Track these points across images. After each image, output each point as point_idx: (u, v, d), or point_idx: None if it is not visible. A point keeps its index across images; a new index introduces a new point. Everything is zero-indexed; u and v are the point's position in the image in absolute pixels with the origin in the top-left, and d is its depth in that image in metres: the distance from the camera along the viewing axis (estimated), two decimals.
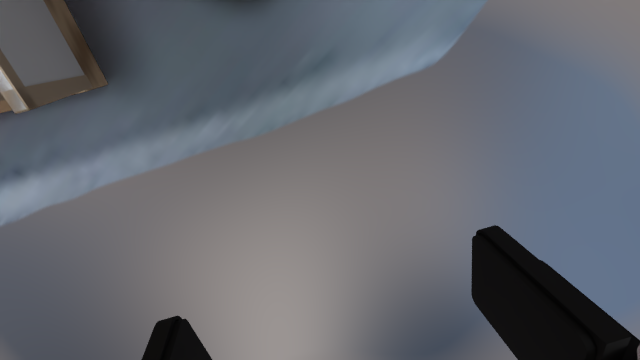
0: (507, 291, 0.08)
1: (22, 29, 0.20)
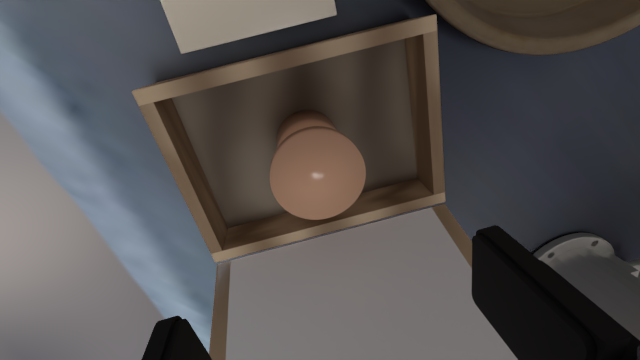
0: (507, 291, 0.08)
1: None
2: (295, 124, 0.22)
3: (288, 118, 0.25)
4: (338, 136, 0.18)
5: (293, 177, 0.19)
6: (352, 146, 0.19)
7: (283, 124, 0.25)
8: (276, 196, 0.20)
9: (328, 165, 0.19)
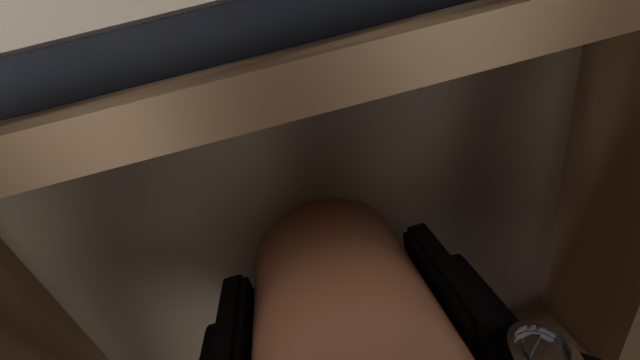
0: None
1: None
2: (307, 283, 0.07)
3: (284, 223, 0.10)
4: None
5: None
6: None
7: (271, 241, 0.10)
8: None
9: None
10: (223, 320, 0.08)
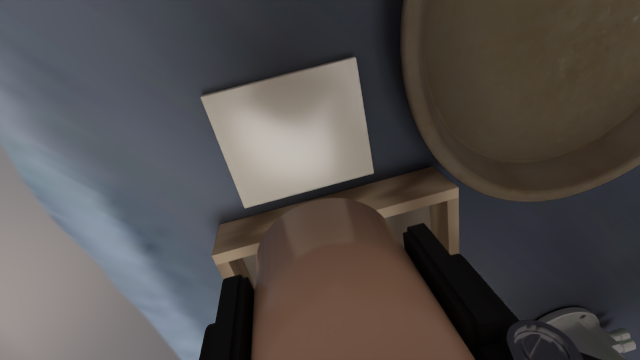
0: None
1: None
2: (307, 284, 0.07)
3: (283, 224, 0.10)
4: None
5: None
6: None
7: (271, 241, 0.10)
8: None
9: None
10: (223, 320, 0.08)
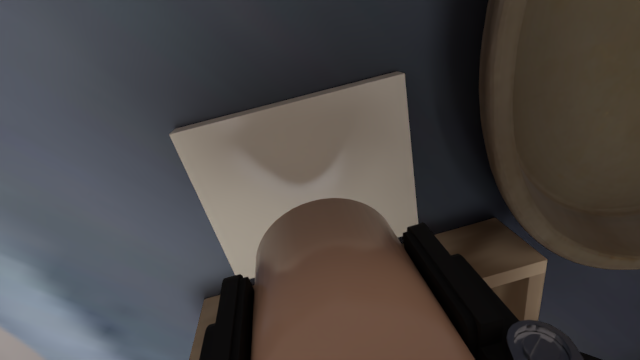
0: None
1: None
2: (307, 284, 0.07)
3: (283, 224, 0.10)
4: None
5: None
6: None
7: (271, 241, 0.10)
8: None
9: None
10: (223, 320, 0.08)
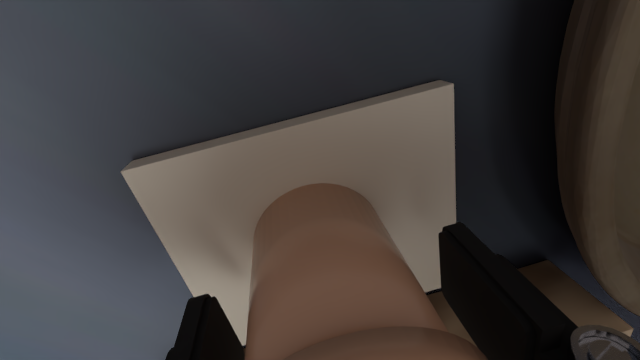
0: (467, 284, 0.09)
1: None
2: (296, 251, 0.08)
3: (278, 205, 0.11)
4: None
5: None
6: None
7: (266, 220, 0.11)
8: None
9: None
10: (182, 346, 0.08)
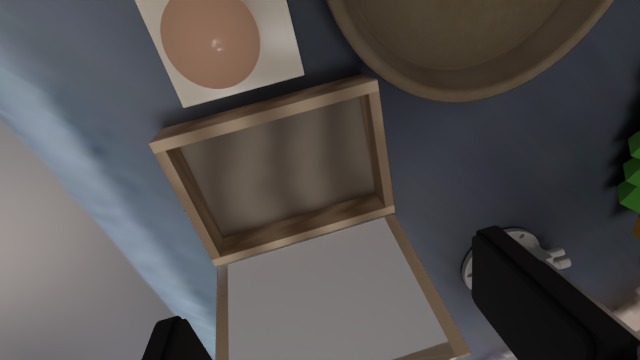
0: (507, 291, 0.08)
1: None
2: None
3: None
4: None
5: (186, 37, 0.20)
6: (241, 4, 0.19)
7: None
8: (171, 59, 0.20)
9: (219, 25, 0.20)
10: None
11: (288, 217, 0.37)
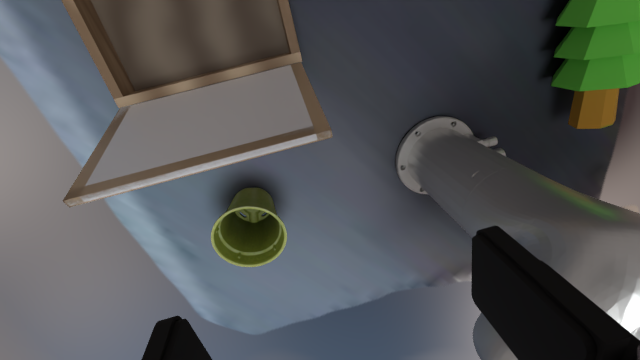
0: (507, 291, 0.08)
1: None
2: None
3: None
4: None
5: None
6: None
7: None
8: None
9: None
10: None
11: (200, 73, 0.37)
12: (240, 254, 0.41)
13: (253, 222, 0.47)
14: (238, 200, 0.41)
